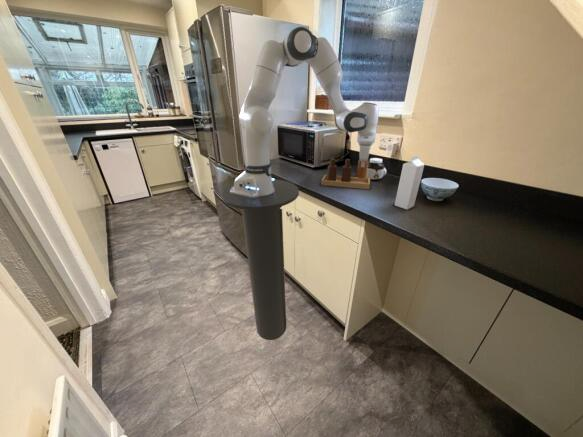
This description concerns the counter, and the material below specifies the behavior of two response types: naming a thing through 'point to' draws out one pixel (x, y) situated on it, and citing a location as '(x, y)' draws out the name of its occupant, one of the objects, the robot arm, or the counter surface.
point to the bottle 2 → (346, 171)
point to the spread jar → (375, 169)
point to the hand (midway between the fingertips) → (362, 165)
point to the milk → (409, 183)
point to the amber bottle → (362, 170)
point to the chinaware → (438, 188)
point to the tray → (354, 182)
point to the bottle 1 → (332, 171)
